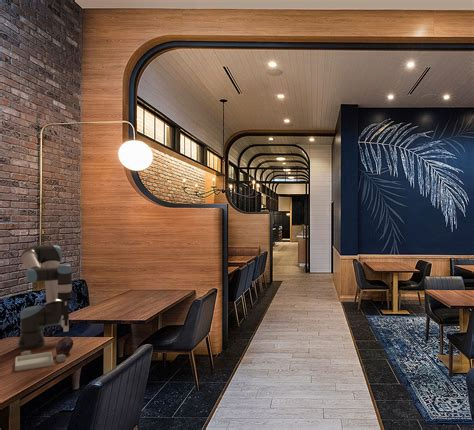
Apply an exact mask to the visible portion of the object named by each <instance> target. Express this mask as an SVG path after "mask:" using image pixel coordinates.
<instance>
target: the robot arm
mask: <svg viewBox="0 0 474 430" xmlns="http://www.w3.org/2000/svg"><path fill="white" fill-rule="evenodd" d="M62 260H63V253H62V249H61V247H60V246H59V245H58V244H50V245H48V244H47V245H31V246H29V247H26V249H24V250H23V251H22V252H21V255H20V262H21V263H22V264H23V265H24V266H25V268H26V271H25V279H26V280H25V281H26V282H27V283H38V282H39V283H40V282H44V287H45V288H44V289H45V297H46V299H45V300H46V302H45V304H44V305H43V306H44V307H42V305H33V306H28V307H24V308H23V309H22V310H21V311H20V336H19V339H18V340H17V348H18V349H20V350H30V349H36V348H41V347H43V346H44V345H45V344H46V339H45V336H44V333H43V328H44V327H51V326H52V327H53V326H59V325H61V328H62V332H63V333H64V332H69V330H70V329H69V328H70V327H69V326H70V325H69V322H70V321H69V320H70V319H69V318H70V317H69V305H70V303H69V301H68V299H72V297H73V293H72V290H73V289H72V287H73V284H72V271H73V270H72V265H71V264H67V263H66V264H60V263H61V262H62Z"/></svg>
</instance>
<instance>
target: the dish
mask: <svg viewBox="0 0 474 430" xmlns="http://www.w3.org/2000/svg"><path fill="white" fill-rule="evenodd" d="M52 353H53V352H52V351H48V352H39V353H34V354H33V353H31V355H25V356H21V355H18V356H15V361H14V372H20V371H28V370H33V369H39V368H47V367H53V366H54V358H53V354H52Z"/></svg>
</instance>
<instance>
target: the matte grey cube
mask: <svg viewBox="0 0 474 430" xmlns="http://www.w3.org/2000/svg"><path fill="white" fill-rule="evenodd" d="M25 355H32V351H31V350H23V351H22V352H20V356H25Z"/></svg>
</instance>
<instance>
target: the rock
mask: <svg viewBox="0 0 474 430" xmlns="http://www.w3.org/2000/svg"><path fill="white" fill-rule="evenodd" d="M73 346H74V341H73V339H72V338H71V336H66V335H65V336H63V337H62V338H61V339H59V340H58V342H57V344H56V346H55V351H56V355H61V354H64V355H67V354H70V352H71V350H72V348H73Z"/></svg>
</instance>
